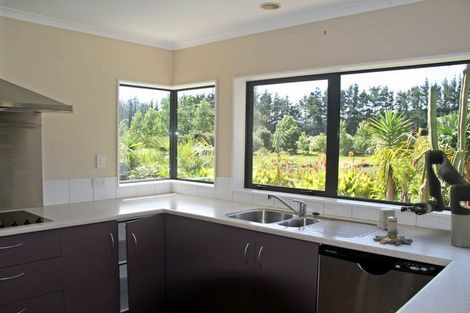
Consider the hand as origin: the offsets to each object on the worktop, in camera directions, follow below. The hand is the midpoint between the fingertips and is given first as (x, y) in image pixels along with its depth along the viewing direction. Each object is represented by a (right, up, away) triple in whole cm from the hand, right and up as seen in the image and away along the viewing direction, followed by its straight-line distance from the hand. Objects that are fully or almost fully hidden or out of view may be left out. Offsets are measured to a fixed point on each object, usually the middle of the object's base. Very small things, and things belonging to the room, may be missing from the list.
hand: (408, 211), depth 228 cm
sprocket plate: (-12, -16, -7) cm, 22 cm away
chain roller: (-12, -15, -7) cm, 20 cm away
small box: (-3, -15, +24) cm, 29 cm away
